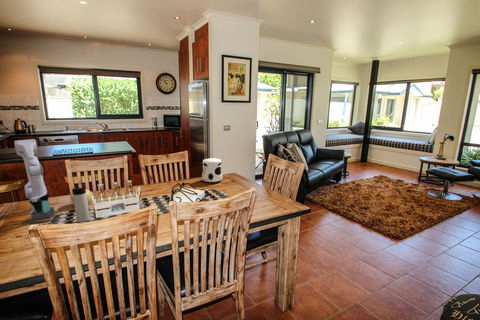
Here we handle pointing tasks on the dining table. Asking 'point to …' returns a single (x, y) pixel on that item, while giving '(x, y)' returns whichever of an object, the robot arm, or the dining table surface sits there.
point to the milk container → (212, 170)
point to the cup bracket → (43, 215)
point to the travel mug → (81, 204)
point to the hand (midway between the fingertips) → (42, 209)
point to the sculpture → (89, 197)
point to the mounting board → (42, 219)
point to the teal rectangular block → (44, 207)
